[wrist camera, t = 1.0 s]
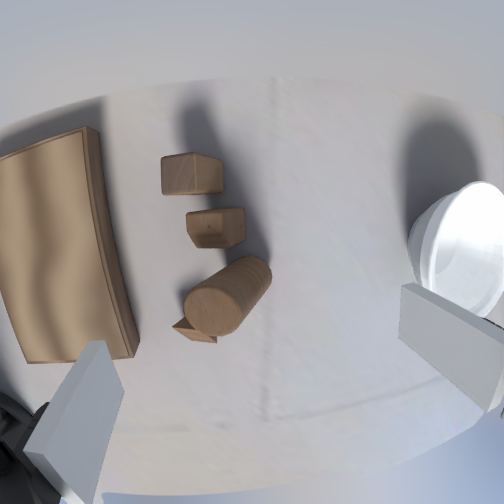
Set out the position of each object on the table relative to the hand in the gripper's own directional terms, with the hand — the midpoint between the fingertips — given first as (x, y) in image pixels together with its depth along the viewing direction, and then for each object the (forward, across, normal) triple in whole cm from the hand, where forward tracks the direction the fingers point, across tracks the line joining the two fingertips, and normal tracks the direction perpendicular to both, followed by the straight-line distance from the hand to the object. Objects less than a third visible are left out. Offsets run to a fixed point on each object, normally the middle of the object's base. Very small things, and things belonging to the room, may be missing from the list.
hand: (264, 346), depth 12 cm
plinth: (+18, -18, +3) cm, 26 cm away
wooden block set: (+19, -1, 0) cm, 19 cm away
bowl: (+19, +25, -3) cm, 31 cm away
